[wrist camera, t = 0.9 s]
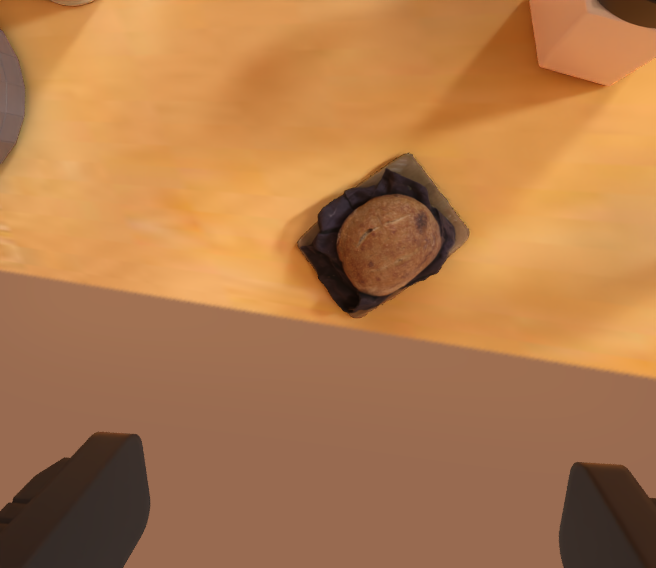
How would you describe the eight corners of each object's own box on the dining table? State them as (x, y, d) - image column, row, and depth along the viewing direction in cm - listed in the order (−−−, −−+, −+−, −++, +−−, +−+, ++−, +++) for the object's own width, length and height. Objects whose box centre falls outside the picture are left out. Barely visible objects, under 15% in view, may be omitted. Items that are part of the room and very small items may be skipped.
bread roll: (406, 144, 33) (405, 137, 30) (477, 242, 34) (485, 246, 30) (289, 236, 36) (275, 239, 32) (356, 326, 36) (349, 339, 33)
